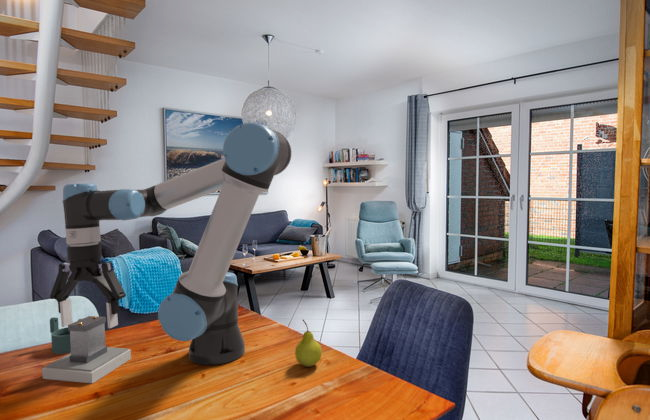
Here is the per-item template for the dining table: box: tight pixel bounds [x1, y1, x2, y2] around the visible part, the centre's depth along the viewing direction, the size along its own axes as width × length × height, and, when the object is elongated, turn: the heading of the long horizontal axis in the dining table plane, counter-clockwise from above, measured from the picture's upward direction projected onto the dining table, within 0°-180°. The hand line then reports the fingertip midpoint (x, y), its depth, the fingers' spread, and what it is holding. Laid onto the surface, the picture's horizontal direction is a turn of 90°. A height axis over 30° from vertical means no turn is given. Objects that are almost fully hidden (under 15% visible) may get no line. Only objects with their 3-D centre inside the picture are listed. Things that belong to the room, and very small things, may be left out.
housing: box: [67, 315, 108, 363], centre depth 103 cm, size 7×5×10 cm
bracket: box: [49, 317, 82, 355], centre depth 117 cm, size 9×9×9 cm
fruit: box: [294, 319, 323, 368], centre depth 104 cm, size 7×7×12 cm
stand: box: [41, 346, 132, 384], centre depth 103 cm, size 14×14×3 cm
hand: (89, 326), depth 103 cm, fingers open, 13 cm apart
